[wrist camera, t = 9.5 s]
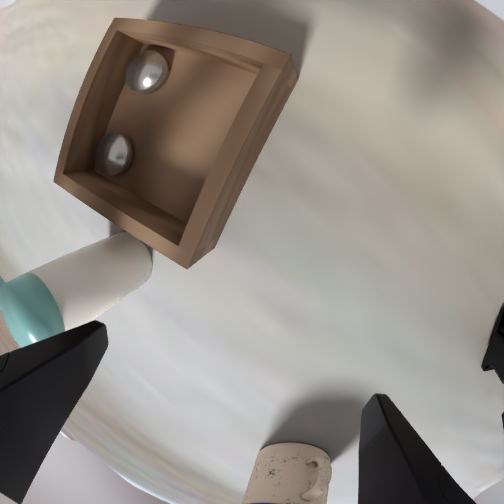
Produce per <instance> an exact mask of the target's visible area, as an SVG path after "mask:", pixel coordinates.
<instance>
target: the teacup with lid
mask: <svg viewBox="0 0 504 504" xmlns="http://www.w3.org/2000/svg"><path fill="white" fill-rule="evenodd" d="M331 476H332V468H331V460H330V457H329V456H328V454H327V453H326V452H324V451H323V450H321V449H319V448H317V447H314V446H311V445H308V444H303V443H292V442H288V443H277V444H273V445H269V446H267V447H265V448H263V449H262V450H261V451H260V452H259V453H258V455H257V458H256V461H255V465H254V468H253V471H252V474H251V477H250V480H249V483H248V486H247V489H246V492H245V495H244V498H243V501H242V504H326V503H327V495H328V486H329V483H330V480H331Z"/></svg>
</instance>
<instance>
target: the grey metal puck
mask: <svg viewBox="0 0 504 504" xmlns="http://www.w3.org/2000/svg"><path fill="white" fill-rule="evenodd" d="M134 159H135V145H134V142H133V140H132V139H131V138H130V137H129V136H128V135H126V134H120V133H108V134H106V135H104V136H103V137H102V138H101V139H100V141H99V142H98V144H97V147H96V150H95V162H96V166H97V168H98V170H99V171H100V172H101V173H102V174H104V175H106V176H112V175H121V174H124V173H126V172H127V171H128V170H129V169H130V168H131V166H132V165H133V162H134Z"/></svg>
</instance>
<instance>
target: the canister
mask: <svg viewBox="0 0 504 504" xmlns="http://www.w3.org/2000/svg"><path fill="white" fill-rule="evenodd" d="M151 271H152V260H151V256H150V253H149V250H148V248H147V246H146V245H145V244H144V242H142V241H141V240H139V239H137V238H136V237H134V236H133V235H131V234H130V233H128V232H121V233H118V234H116V235H113V236H111V237H108V238H106V239H103V240H101V241H98V242H96V243H93V244H91V245H89V246H86V247H84V248H81V249H79V250H77V251H74V252H72V253H70V254H67V255H65V256H63V257H60V258H58V259H56V260H54V261H51V262H49V263H47V264H45V265H42V266H40V267H38V268H36V269H34V270H32V271H29V272H27V273H25V274H23V275H21V276H19V277H17V278H15V279H13V280H11V281H9V282H7V283H5V282H4V281H3V280H2V278H1V277H0V309H1V311H2V314H3V317H4V320H5V322H6V324H7V327H8V329H9V330H10V332H11V334H12V336H13V337H14V339H15V340H16V342H17V343H18V345H19V346H20V347H21V348H22V347H25V346H27V345H30V344H33V343H35V342H38V341H41V340H43V339H46V338H49V337H51V336H54V335H57V334H59V333H62V332H64V331H67V330H70V329H72V328H75V327H78V326H80V325H83V324H86V323H88V322H91V321H92V320H94V319H95V318H96V317H98V316H99V315H100V314H102V313H103V312H105V311H106V310H107V309H109V308H110V307H112V306H113V305H114V304H116V303H117V302H119V301H120V300H121V299H123V298H124V297H126V296H127V295H128V294H130V293H131V292H133V291H134V290H135V289H137V288H138V287H140V286H141V285H143V284H144V283H145V282H146V281H147V280H148V279H149V277H150V275H151Z"/></svg>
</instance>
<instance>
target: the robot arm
mask: <svg viewBox="0 0 504 504" xmlns="http://www.w3.org/2000/svg"><path fill="white" fill-rule="evenodd" d="M107 347H108V336H107V329H106V325H105V324H104V323H101V322H99V321H96V320H94V321H91V322H88V323H86V324H83V325H80V326H78V327H75V328H72V329H70V330H67V331H64V332H62V333H59V334H57V335H54V336H51V337H49V338H46V339H43V340H41V341H38V342H35V343H33V344H30V345H27V346H25V347H22V348H19V349H16V350H14V351H11V353H10V352H8V353H6V354H3V355H0V493H2V494H4V495H5V496H7V497H8V498H10V499H12V500H13V501H14V502H17V503H18V504H21V503H22V501H23V499H24V497H25V495H26V493H27V491H28V489H29V487H30V485H31V483H32V481H33V479H34V477H35V476H36V474H37V472H38V470H39V468H40V466H41V464H42V462H43V460H44V458H45V457H46V455H47V453H48V451H49V449H50V447H51V446H52V444H53V442H54V441H55V439H56V437H57V435H58V434H59V432H60V430H61V428H62V427H63V425H64V423H65V422H66V420H67V418H68V417H69V415H70V413H71V412H72V410H73V409H74V407H75V405H76V404H77V402H78V400H79V399H80V397H81V396H82V394H83V393H84V391H85V389H86V388H87V386H88V385H89V383H90V381H91V379H92V377H93V375H94V373H95V371H96V369H97V367H98V365H99V363H100V361H101V359H102V357H103V355H104V353H105V351H106V350H107ZM481 368H482V370H483V371H488V370H493V369H494V370H495V372H496V373H497V375H498V377H499V378H500V380H501V382H502V383H503V384H504V307H503V308H502V309H501V311H500V314H499V318H498V321H497V324H496V327H495V330H494V333H493V336H492V339H491V342H490V345H489V348H488V350H487V353H486V355H485V358H484V360H483V363H482V366H481ZM502 421H503V428H504V412H503V413H502ZM358 504H476V503H475V502H474V501H473V500H472V499H471V498H470V497H469V496H468V494H467V493H466V492H465V491H464V490H463V489H462V488H461V487H460V486H459V485H458V484H457V483H456V482H455V480H454V479H453V478H452V477H451V475H450V474H449V473H448V472H447V470H446V469H445V468H444V467H443V465H441V463H440V462H439V460H438V459H437V458H436V456H435V455H434V454H433V453H432V451H431V450H430V449H429V447H428V446H427V445H426V444H425V442H424V441H423V440H422V439H421V437H420V436H419V435H418V433H417V432H416V431H415V430H414V428H413V427H412V426H411V425H410V423H409V422H408V421H407V420H406V418H405V417H404V416H403V414H402V413H401V412H400V411H399V409H398V408H397V407H396V406H395V404H394V403H393V402H392V401H391V399H390V398H389V397H388V396H387V395H386V394H378V393H376V394H374V395H373V396H372V397H371V399H370V400H369V401H368V403H367V404H366V405H365V407H364V408H363V410H362V417H361V430H360V442H359V488H358Z"/></svg>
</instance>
